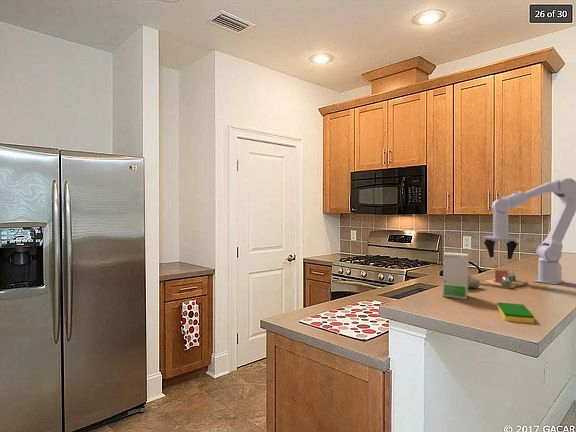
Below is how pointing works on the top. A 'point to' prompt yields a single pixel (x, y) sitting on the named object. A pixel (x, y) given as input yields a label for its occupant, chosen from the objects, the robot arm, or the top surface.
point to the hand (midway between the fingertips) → (500, 258)
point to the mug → (473, 282)
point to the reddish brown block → (501, 274)
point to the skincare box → (455, 275)
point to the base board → (495, 284)
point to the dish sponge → (515, 312)
